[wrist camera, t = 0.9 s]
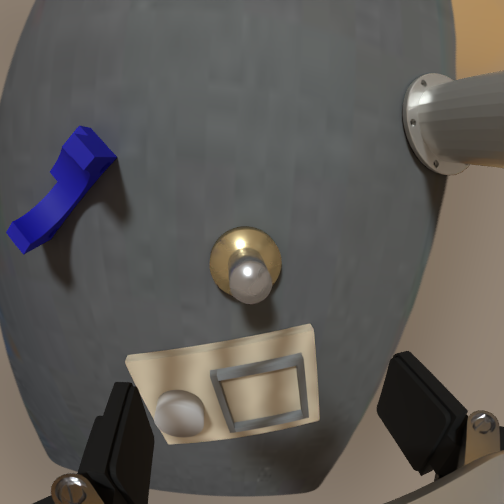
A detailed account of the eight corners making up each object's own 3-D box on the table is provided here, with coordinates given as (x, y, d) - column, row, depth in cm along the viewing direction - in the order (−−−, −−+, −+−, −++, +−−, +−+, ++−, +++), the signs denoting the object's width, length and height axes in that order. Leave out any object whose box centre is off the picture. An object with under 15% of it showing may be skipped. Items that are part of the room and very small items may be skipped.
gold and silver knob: (273, 220, 30) (287, 235, 24) (282, 284, 32) (297, 312, 26) (203, 233, 30) (199, 252, 24) (217, 297, 32) (218, 328, 26)
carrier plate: (310, 323, 34) (321, 344, 30) (316, 413, 39) (325, 435, 34) (127, 354, 33) (118, 377, 29) (169, 437, 38) (166, 459, 33)
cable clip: (91, 128, 26) (64, 122, 20) (117, 157, 27) (94, 156, 21) (28, 211, 27) (-2, 221, 21) (51, 238, 28) (23, 254, 23)
